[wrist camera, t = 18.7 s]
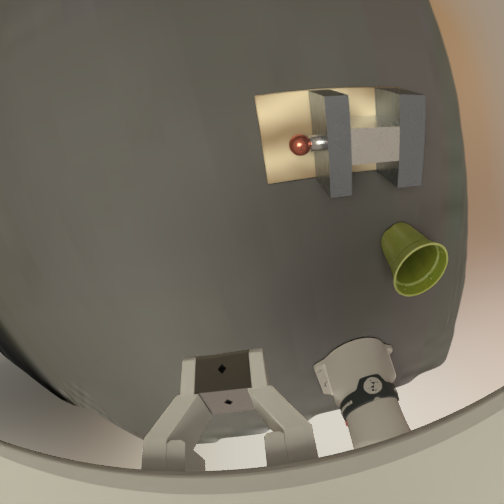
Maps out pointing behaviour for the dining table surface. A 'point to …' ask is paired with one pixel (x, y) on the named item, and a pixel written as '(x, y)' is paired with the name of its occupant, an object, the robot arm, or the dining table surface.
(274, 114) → the vise board
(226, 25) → the dining table surface
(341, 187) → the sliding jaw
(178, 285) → the dining table surface
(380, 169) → the fixed jaw
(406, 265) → the plant pot
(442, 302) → the dining table surface
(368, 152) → the block
